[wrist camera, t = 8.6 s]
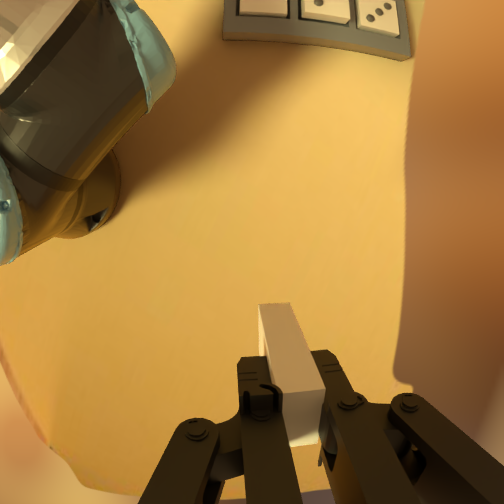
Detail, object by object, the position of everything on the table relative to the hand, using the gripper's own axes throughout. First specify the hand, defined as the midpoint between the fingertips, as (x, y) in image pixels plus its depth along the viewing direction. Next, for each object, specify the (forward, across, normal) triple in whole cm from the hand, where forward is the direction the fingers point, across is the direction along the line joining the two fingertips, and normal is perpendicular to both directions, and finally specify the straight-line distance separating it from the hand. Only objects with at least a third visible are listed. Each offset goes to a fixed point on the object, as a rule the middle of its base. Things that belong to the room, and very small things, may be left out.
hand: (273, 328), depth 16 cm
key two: (+26, +11, +31) cm, 41 cm away
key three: (+27, +19, +30) cm, 45 cm away
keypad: (+29, +11, +31) cm, 43 cm away
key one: (+27, +3, +31) cm, 41 cm away
